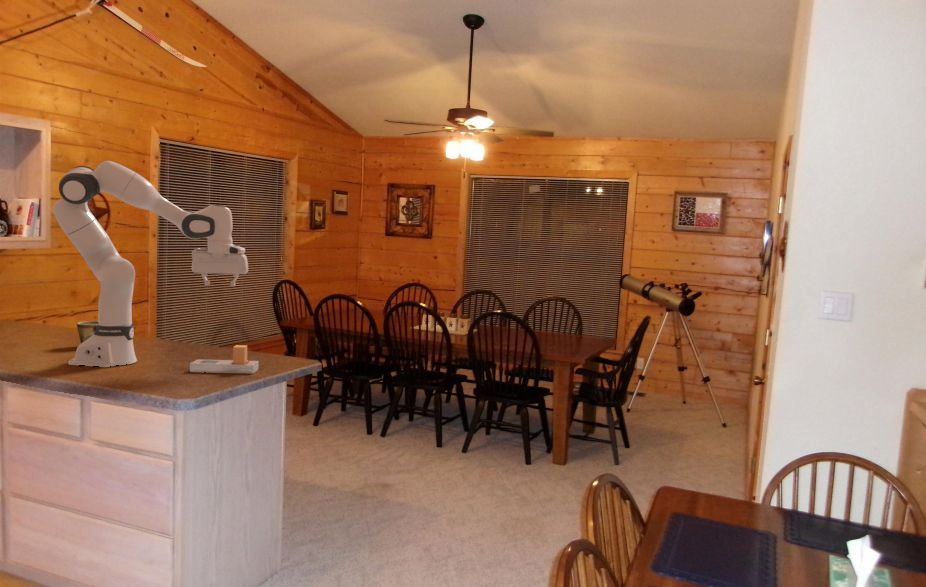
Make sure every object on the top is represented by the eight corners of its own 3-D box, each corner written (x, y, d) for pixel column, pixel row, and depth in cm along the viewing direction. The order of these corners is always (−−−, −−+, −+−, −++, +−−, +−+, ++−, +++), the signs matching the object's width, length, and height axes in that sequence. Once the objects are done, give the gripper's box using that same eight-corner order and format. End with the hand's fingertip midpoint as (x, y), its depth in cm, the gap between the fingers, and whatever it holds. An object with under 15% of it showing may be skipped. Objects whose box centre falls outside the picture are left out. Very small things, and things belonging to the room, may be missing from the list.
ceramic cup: (100, 349, 286) (99, 324, 285) (73, 349, 285) (72, 324, 284) (110, 343, 299) (110, 320, 298) (85, 343, 298) (84, 319, 297)
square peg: (233, 372, 255) (233, 347, 254) (236, 369, 259) (236, 345, 258) (244, 372, 255) (244, 347, 254) (247, 370, 259) (247, 345, 258)
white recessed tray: (189, 372, 252) (189, 363, 252) (197, 367, 260) (197, 359, 260) (253, 373, 253) (253, 365, 253) (258, 369, 261) (258, 360, 261)
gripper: (188, 247, 263) (189, 285, 265) (245, 249, 264) (245, 287, 266) (194, 247, 269) (194, 283, 271) (249, 249, 271) (249, 285, 272)
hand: (220, 285), depth 268 cm, fingers open, 8 cm apart
